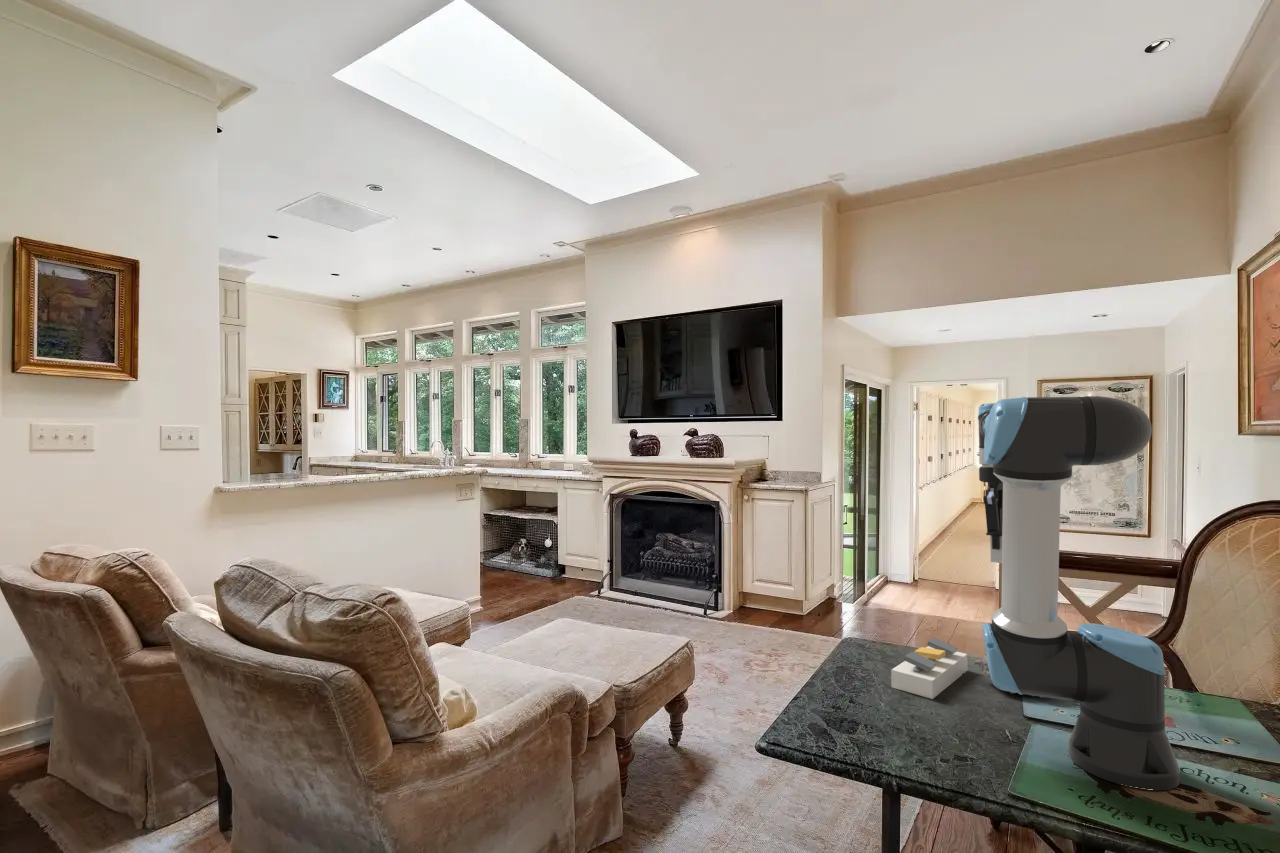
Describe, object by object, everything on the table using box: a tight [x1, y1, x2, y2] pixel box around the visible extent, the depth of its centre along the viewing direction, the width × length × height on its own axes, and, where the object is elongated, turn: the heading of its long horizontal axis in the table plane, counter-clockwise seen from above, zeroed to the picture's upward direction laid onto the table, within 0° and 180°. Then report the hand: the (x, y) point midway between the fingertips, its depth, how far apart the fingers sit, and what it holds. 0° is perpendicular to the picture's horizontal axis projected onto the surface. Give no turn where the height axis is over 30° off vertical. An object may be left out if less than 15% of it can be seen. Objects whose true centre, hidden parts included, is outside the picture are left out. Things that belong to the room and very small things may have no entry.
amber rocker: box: [914, 646, 946, 660], centre depth 146 cm, size 6×4×1 cm
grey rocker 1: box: [903, 651, 936, 672], centre depth 141 cm, size 6×4×1 cm
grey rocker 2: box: [926, 637, 958, 656], centre depth 150 cm, size 6×4×1 cm
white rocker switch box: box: [890, 646, 968, 700], centre depth 147 cm, size 9×28×5 cm, turn 135°
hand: (997, 562), depth 151 cm, fingers closed
